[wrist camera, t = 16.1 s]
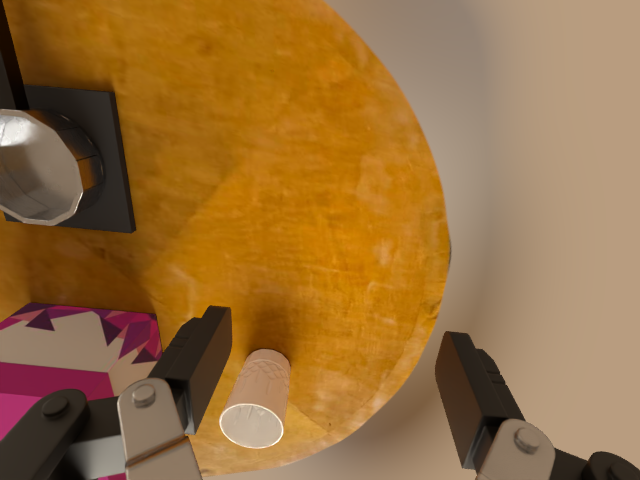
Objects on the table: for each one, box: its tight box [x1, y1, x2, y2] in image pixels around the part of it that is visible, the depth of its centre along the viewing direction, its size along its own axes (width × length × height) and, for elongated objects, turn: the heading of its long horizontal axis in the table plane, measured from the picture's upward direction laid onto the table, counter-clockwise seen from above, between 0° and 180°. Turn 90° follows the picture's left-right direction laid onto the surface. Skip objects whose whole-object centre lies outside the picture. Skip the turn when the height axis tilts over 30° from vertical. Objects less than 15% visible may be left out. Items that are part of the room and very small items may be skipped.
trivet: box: [3, 85, 136, 233], centre depth 40 cm, size 16×16×1 cm
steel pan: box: [0, 0, 106, 226], centre depth 36 cm, size 22×12×4 cm, turn 176°
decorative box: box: [0, 303, 162, 480], centre depth 46 cm, size 19×19×15 cm
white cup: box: [219, 349, 291, 448], centre depth 47 cm, size 8×8×10 cm
